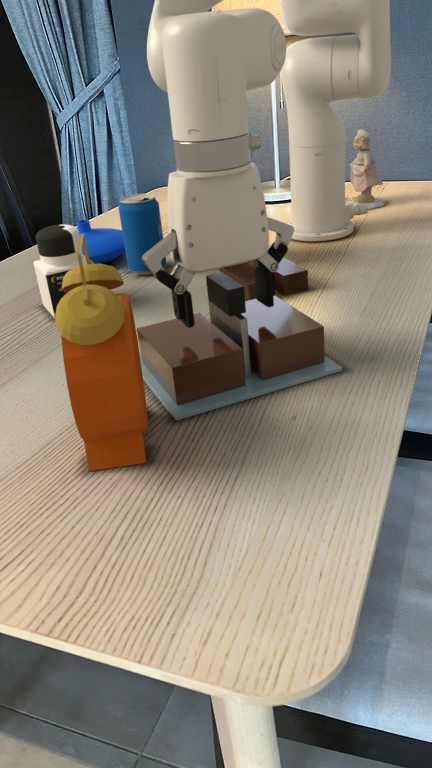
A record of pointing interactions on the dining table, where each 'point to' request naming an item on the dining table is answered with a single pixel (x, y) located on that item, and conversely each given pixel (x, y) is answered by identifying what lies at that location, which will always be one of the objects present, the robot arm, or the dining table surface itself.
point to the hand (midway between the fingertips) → (226, 313)
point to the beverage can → (140, 229)
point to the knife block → (286, 277)
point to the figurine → (364, 173)
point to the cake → (231, 358)
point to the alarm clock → (102, 365)
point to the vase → (101, 242)
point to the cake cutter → (229, 312)
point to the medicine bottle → (56, 261)
